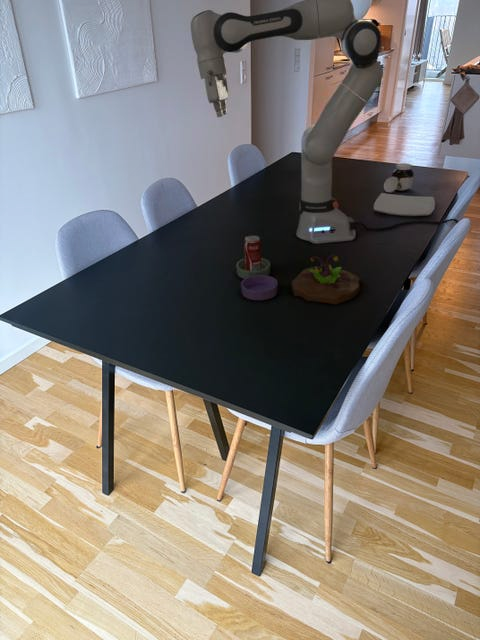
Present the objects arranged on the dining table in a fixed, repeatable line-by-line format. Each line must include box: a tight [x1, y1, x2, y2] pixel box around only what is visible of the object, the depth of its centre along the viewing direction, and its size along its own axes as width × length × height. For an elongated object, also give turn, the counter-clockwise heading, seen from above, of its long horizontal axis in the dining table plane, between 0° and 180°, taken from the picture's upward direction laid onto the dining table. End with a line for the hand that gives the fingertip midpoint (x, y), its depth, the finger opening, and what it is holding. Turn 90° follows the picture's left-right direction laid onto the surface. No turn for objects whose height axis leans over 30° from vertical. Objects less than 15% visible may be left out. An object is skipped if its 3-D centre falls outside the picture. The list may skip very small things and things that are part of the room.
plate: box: [373, 192, 436, 217], centre depth 203 cm, size 24×24×3 cm
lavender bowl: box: [240, 275, 278, 301], centre depth 146 cm, size 11×11×3 cm
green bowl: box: [235, 257, 271, 280], centre depth 157 cm, size 11×11×3 cm
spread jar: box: [383, 162, 415, 194], centre depth 222 cm, size 12×11×12 cm
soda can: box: [243, 235, 262, 271], centre depth 155 cm, size 5×5×12 cm
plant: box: [291, 254, 362, 305], centre depth 144 cm, size 20×20×11 cm
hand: (222, 115), depth 161 cm, fingers open, 8 cm apart
